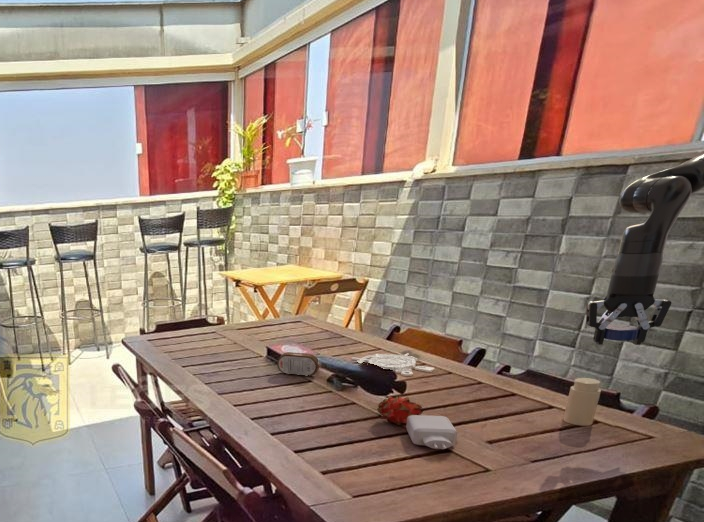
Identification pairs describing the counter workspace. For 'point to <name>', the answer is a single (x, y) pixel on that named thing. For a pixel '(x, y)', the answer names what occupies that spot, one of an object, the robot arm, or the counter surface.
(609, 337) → the jar lid
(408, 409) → the dragon fruit
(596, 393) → the jar
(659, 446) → the counter surface
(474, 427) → the counter surface
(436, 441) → the charger
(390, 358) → the pendant
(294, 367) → the tin
